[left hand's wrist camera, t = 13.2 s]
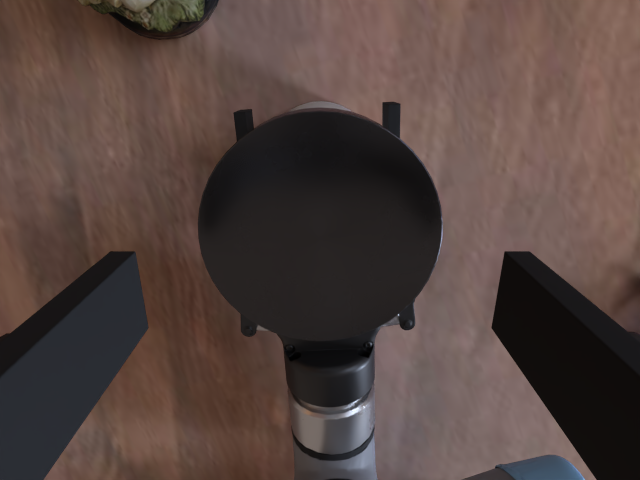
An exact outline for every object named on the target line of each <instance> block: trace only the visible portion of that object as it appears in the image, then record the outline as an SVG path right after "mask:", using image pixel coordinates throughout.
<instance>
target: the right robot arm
mask: <svg viewBox="0 0 640 480" xmlns="http://www.w3.org/2000/svg"><path fill="white" fill-rule="evenodd" d="M234 120H235V129H236V137H237V141H238V140H240V139H241V138H242V137H244V136H245V135H246V134H248V133H249V132H250V131H252V130H253V129H254V126H253V117H252V109H248V110H239V111H237V112H234ZM383 127H385V128H386V129H387V130H389V131H390V132H392V133H393V134H394V135H396V136H397V137H398V138H400V104H399V103H396V102H383ZM414 301H415V299H414V300H413V302H412V303H411V304H410V305H409V306H408V307H406V308H405V309H404V310H403V311H402V312H401V313H400V314H398V315H397V316H396V317H394V318H393V319H391V320H390V321H389V322H387V323H385V324H383V325H382V326H380V327H383V326H390V325H398V324H400V326H401V328H402V329H404V330H410V329H412V328H413V327H414V326H415V314H414ZM380 327H378V328H376V329H374V330H371V331H369V332H366V333H364V334H361V335H358V336H354V337H351V338H346V339H340V340H332V341H307V340H301V339H294V338H290V337H286V336H283V335H279V334H277V335H278V336H279V337H280V339H281V340H282V343H283V348H284V358H285V369H286V379H287V384H288V400H289V408H290V417H291V428H292V434H293V447H294V465H295V472H294V480H377V474H376V465H375V445H374V422H375V389H374V377H375V365H374V341H375V337H376V335H377V333H378V331H379V330H380ZM256 330H264V331H269V330H267V329H264V328H263V327H261V326H259V325H257V324H255V323H254V322H252V321H250V320H249V319H248V318H246V317H245V316H243V315H242V314H241V332H242V334H243V335H245V336H248V337H250V336H253V335H255V333H256ZM462 480H585V479H584V478H583V476H582V475H581V474H580V472H579V471H578V470H577V469H576V468H575V467H574V466H573V465H572V464H571V463H570V462H569V461H567V460H566V459H564V458H562V457H560V456H556V455H545V456H540V457H536V458H531V459H527V460H522V461H518V462H514V463H509V464H505V465H504V464H499V465H496V467H495V469H492V470H489V471H486V472H483V473H480V474H477V475H474V476H471V477H468V478H465V479H462Z"/></svg>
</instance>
